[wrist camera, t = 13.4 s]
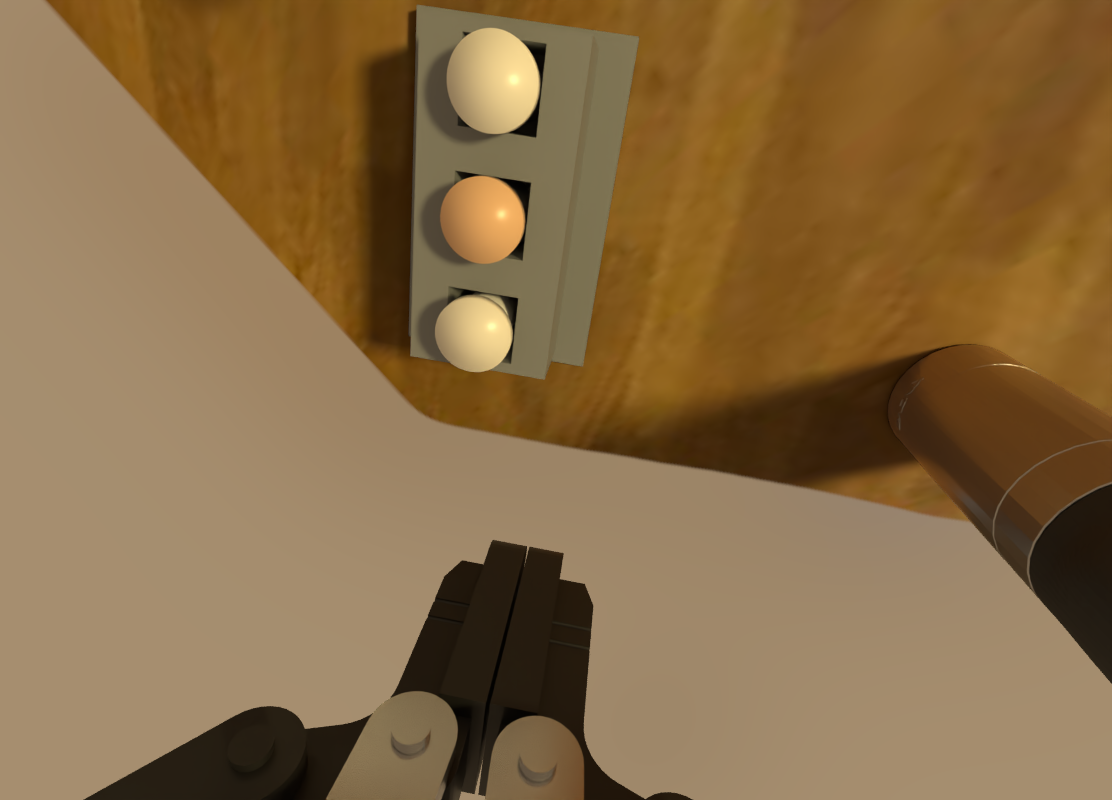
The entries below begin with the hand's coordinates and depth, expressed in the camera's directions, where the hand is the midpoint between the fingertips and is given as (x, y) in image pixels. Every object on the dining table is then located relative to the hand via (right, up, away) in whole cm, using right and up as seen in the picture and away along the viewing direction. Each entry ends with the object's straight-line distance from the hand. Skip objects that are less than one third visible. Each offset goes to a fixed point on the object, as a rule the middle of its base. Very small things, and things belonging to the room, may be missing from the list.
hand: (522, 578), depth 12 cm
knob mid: (-3, +17, +28) cm, 33 cm away
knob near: (-2, +24, +25) cm, 34 cm away
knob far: (-4, +11, +31) cm, 33 cm away
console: (-2, +18, +29) cm, 34 cm away
